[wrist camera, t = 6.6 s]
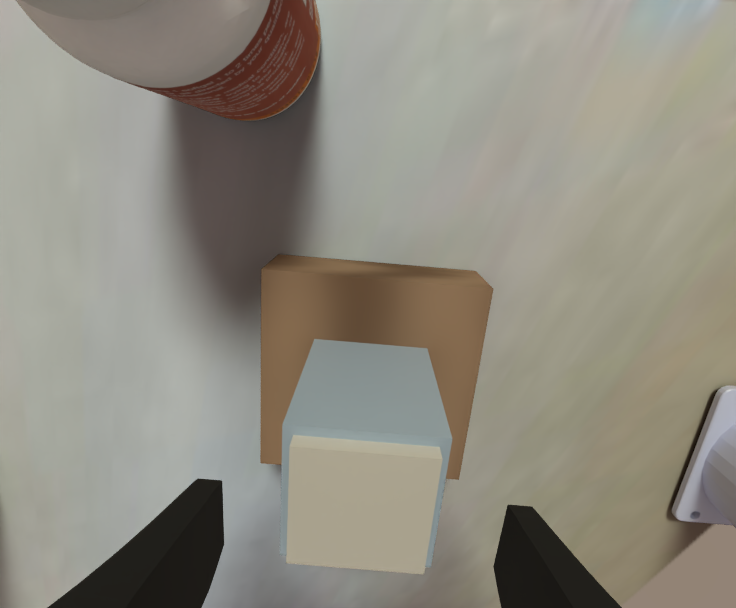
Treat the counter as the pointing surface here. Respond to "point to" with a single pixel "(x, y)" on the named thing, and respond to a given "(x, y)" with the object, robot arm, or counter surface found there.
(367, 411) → the blue block cream face
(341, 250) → the counter surface
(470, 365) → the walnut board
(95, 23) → the pill bottle
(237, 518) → the counter surface
